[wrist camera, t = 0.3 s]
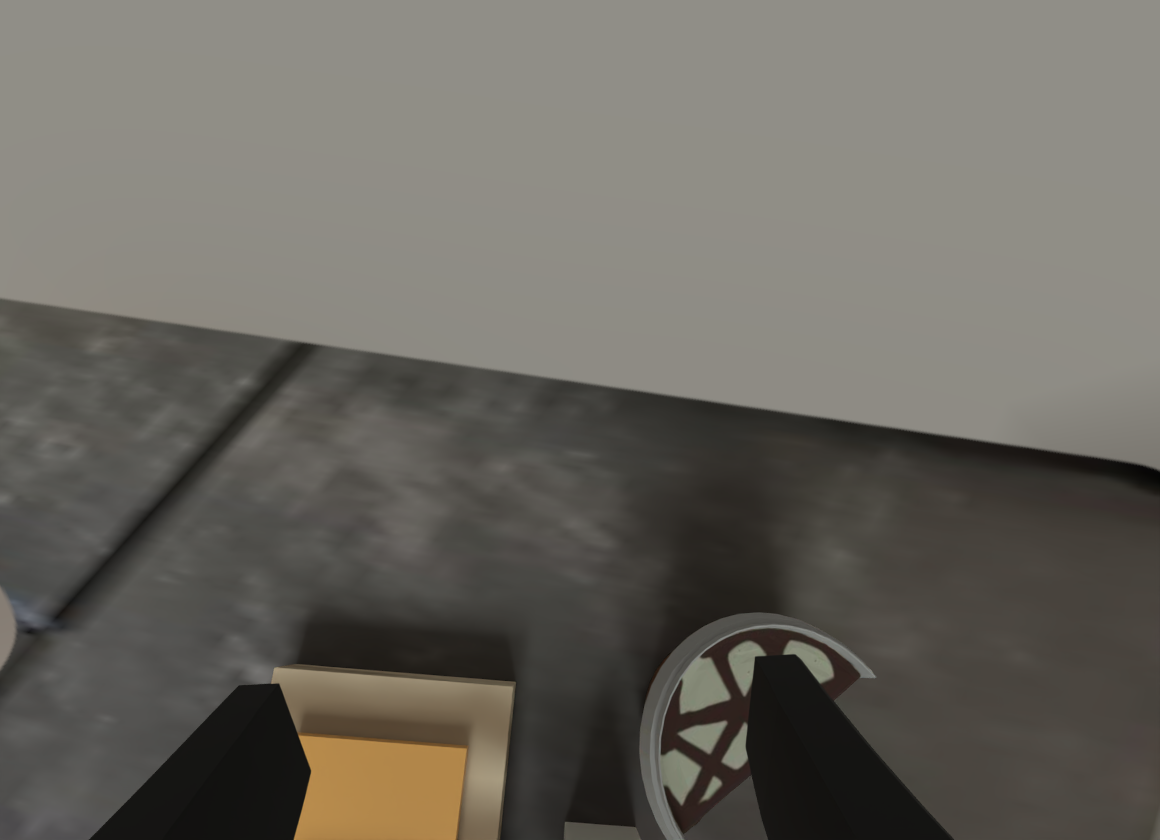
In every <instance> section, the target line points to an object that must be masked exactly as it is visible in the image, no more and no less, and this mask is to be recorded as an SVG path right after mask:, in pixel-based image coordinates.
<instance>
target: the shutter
mask: <svg viewBox="0 0 1160 840" xmlns="http://www.w3.org/2000/svg"><path fill="white" fill-rule="evenodd" d="M297 733H298V736H299V738H300V741H301V744H302V747H303V749H304V752H305V755H306V758H307V760H308V763H309V766H310V768H311V775H310V779H309V784H308V788H307V792H306V796H305V800H304V804H303V808H302V812H301V815H300V819H299V823H298V826H297V830H296V833H295V837H294V840H457V838H458V830H459V822H460V813H461V805H462V797H463V788H464V780H465V772H466V764H467V755H468V747H469V746H465V745H452V744H440V743H427V742H414V741H402V740H389V739H376V738H364V737H351V736H338V735H326V734H313V733H300V732H297Z"/></svg>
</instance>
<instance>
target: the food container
mask: <svg viewBox="0 0 1160 840" xmlns="http://www.w3.org/2000/svg"><path fill="white" fill-rule="evenodd" d="M788 654H796V655H797V656H798V657H799V658H800V659H801V660H802V661H803V662H804V664H805V665H806V666H807V667H808V669H809V670H810V671H811V673H812V674H813V675H814V676H815V678H816V679H817V680H818V682H819V683H820V684H821V685H822V687H823V688H824V689H825V691H826V692H827V693H828V694H829V696H830V697H831V698H832V699H833V701H834V700H835V699H836V698H837V697H838V696H839V695H841V694H842V693H843V692H844V691H845V690H846V689H847V688H848V687H849V686H851V685H852V684H853V683H854V682H855V681H856V680H857V679H858V678H876V676H875V675H874V674H873V671H872V670H871V669H870V668H869V667H868V666H867V665H866V664H865V663H864V662H863V660H862V659H861V658H860V657H859V656H857V655H856V654H855V653H854V652H853V651H852V650H850V649H849V648H848V647H847V646H846V645H844V644H843V643H841V642H840V641H838V640H837V639H835V638H833V637H832V636H830V635H829V634H827V633H825V632H824V631H822V630H820V629H818V628H817V627H815V626H812V625H810V624H808V623H805V622H803V621H801V620H798V619H795V618H791V617H787V616H784V615H780V614H772V613H761V612H756V613H743V614H737V615H733V616H729V617H725V618H721V619H719V620H716V621H714V622H712V623H710V624H708V625H705V626H703V627H702V628H700V629H699V630H697V631H696V632H694V633H693V634H691V635H690V636H688V637H687V638H686V639H685V640H684V641H683V642H682V643H681V644H680V645H679V646H678V647H677V648H676V649H675V650H673V651H672V652H671V653H670V654H669V655H668V656H667V657H666V658H665V659H664V660H663V661H662V663H661V664H660V665H659V667H658V668H657V669H656V671H655V673H654V675H653V677H652V679H651V681H650V684H649V687H648V690H647V693H646V699H645V705H644V711H643V716H642V721H641V727H640V747H639V753H640V763H641V773H642V778H643V782H644V787H645V791H646V795H647V799H648V801H649V804H650V806H651V809H652V811H653V814H654V816H655V819H656V821H657V823H658V825H659V827H660V828H661V830H662V832H663V834H664V836H665V837H666V839H667V840H685V837H684V833H686V832H687V831H688V830H689V829H690V828H691V827H693V826H694V825H696V824H697V823H698V822H699V821H700V820H701V818H702V817H703V816H704V815H705V814H706V813H707V812H708V811H709V810H710V809H712V808H713V807H714V806H715V805H716V804H717V803H718V802H720V801H721V800H722V799H723V798H724V797H725V796H727V795H728V794H729V793H730V792H731V791H732V790H734V789H735V788H736V787H737V786H738V785H740V784H741V783H742V782H743V781H744V780H746V779H747V778H748V777H749V776H750V775H751V770H750V766H749V761H748V756H747V752H746V747H745V744H746V735H747V726H748V717H749V707H750V698H751V689H752V680H753V670H754V661H755V656H770V655H788Z"/></svg>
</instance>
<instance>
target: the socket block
mask: <svg viewBox="0 0 1160 840" xmlns="http://www.w3.org/2000/svg"><path fill="white" fill-rule="evenodd" d="M275 683H279V684H280V687H281V689H282V692H283V695H284V698H285V700H286V703H287V706H288V709H289V711H290V714H291V717H292V719H293V722H294V725H295V728H296V730H297V732H300V733H313V734H326V735H338V736H351V737H364V738H376V739H389V740H402V741H414V742H427V743H440V744H452V745H465V746H469V747H468V755H467V764H466V772H465V780H464V788H463V797H462V805H461V813H460V822H459V830H458V838H457V840H500V835H501V825H502V815H503V806H504V796H505V786H506V776H507V766H508V757H509V747H510V737H511V727H512V717H513V708H514V698H515V688H516V682H512V681H500V680H487V679H475V678H463V677H450V676H438V675H425V674H413V673H401V672H388V671H376V670H363V669H351V668H339V667H326V666H314V665H302V664H293V665H287V666H281V667H275V668H274V672H273V677H272V682H271V684H275Z"/></svg>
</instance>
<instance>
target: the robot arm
mask: <svg viewBox="0 0 1160 840" xmlns="http://www.w3.org/2000/svg"><path fill="white" fill-rule="evenodd" d="M745 747H746V752H747V756H748V761H749V766H750V770H751V775H752V779H753V784H754V788H755V792H756V797H757V801H758V805H759V809H760V814H761V818H762V821H763V825H764V828H765V831H766V834H767V837H768V840H954V839H953V838H952V837H951V836H950V835H949V834H948V833H947V831H946V830H945V829H944V828H943V827H942V826H941V825H940V824H939V823H938V822H937V821H936V820H935V818H934V817H933V816H932V815H931V814H930V813H929V812H928V811H927V810H926V809H925V808H924V806H923V805H922V804H921V803H920V802H919V801H918V800H917V799H916V797H915V796H914V795H913V794H912V793H911V792H910V791H909V789H908V788H907V787H906V786H905V785H904V784H903V783H902V782H901V780H900V779H899V778H898V777H897V776H896V775H895V774H894V772H893V771H892V770H891V769H890V768H889V767H888V766H887V764H886V763H885V762H884V761H883V760H882V759H881V758H880V756H879V755H878V754H877V753H876V752H875V751H874V749H873V748H872V747H871V746H870V745H869V743H868V742H867V741H866V740H865V739H864V737H863V736H862V735H861V734H860V733H859V731H858V730H857V729H856V728H855V727H854V725H853V724H852V723H851V722H850V720H849V719H848V718H847V717H846V716H845V714H844V713H843V712H842V711H841V709H840V708H839V707H838V706H837V704H836V703H835V702H834V701H833V699H832V698H831V697H830V696H829V694H828V693H827V692H826V691H825V689H824V688H823V687H822V685H821V684H820V683H819V682H818V680H817V679H816V678H815V676H814V675H813V674H812V673H811V671H810V670H809V669H808V667H807V666H806V665H805V664H804V662H803V661H802V660H801V659H800V658H799V657H798V656H797V655H796V654H788V655H770V656H755V661H754V670H753V680H752V689H751V698H750V707H749V717H748V726H747V735H746V744H745ZM310 775H311V768H310V766H309V763H308V760H307V758H306V755H305V752H304V749H303V747H302V744H301V741H300V738H299V736H298V733H297V730H296V728H295V725H294V722H293V719H292V717H291V714H290V711H289V709H288V706H287V703H286V700H285V698H284V695H283V692H282V689H281V687H280V684H279V683H275V684H258V685H240V686H238V687H237V688H236V689H235V690H234V691H233V692H232V693H231V694H230V695H229V696H228V697H227V698H226V699H225V700H224V701H223V702H222V703H221V704H220V705H219V707H218V708H217V709H216V710H215V711H214V712H213V713H212V714H211V715H210V716H209V717H208V718H207V719H206V720H205V721H204V722H203V723H202V724H201V725H200V726H199V727H198V728H197V729H196V730H195V731H194V732H193V734H192V735H191V736H190V737H189V738H188V739H187V740H186V741H185V742H184V743H183V744H182V745H181V746H180V747H179V748H178V749H177V750H176V751H175V752H174V753H173V754H172V755H171V757H170V758H169V759H168V760H167V761H166V762H165V763H164V764H163V765H162V766H161V767H160V768H159V769H158V770H157V771H156V772H155V773H154V774H153V775H152V776H151V777H150V778H149V779H148V780H147V781H146V783H145V784H144V785H143V786H142V787H141V788H140V789H139V790H138V791H137V792H136V793H135V794H134V795H133V796H132V797H131V798H130V799H129V800H128V801H127V802H126V803H125V804H124V805H123V806H122V807H121V808H120V809H119V810H118V811H117V812H116V813H115V814H114V815H113V816H112V817H111V818H110V819H109V820H108V821H107V822H106V823H105V824H104V825H103V826H102V827H101V828H100V829H99V830H98V831H97V832H96V833H95V834H94V835H93V836H92V837H91V838H90V839H89V840H294V837H295V833H296V830H297V826H298V823H299V819H300V815H301V812H302V808H303V804H304V800H305V796H306V792H307V788H308V784H309V779H310Z"/></svg>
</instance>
